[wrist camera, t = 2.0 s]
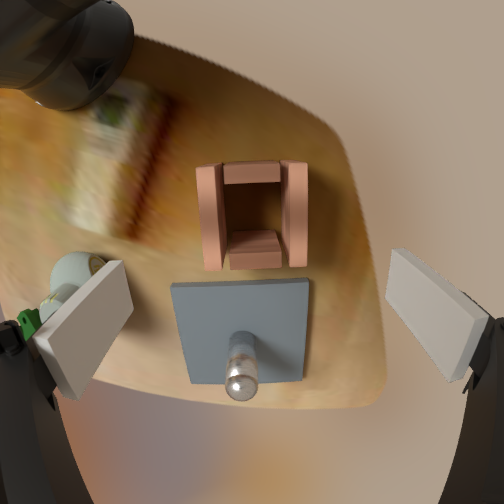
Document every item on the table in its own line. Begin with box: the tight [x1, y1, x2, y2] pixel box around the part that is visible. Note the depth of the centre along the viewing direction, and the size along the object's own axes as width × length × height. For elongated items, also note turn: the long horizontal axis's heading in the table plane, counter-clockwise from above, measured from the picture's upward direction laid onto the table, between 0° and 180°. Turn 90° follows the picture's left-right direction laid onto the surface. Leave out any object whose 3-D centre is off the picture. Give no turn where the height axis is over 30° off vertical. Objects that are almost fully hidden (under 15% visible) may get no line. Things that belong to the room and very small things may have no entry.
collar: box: [196, 160, 308, 271], centre depth 27 cm, size 9×9×7 cm
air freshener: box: [39, 252, 106, 324], centre depth 29 cm, size 11×8×10 cm
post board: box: [170, 278, 309, 384], centre depth 36 cm, size 16×16×1 cm
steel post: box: [225, 331, 258, 401], centre depth 31 cm, size 4×4×10 cm
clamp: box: [17, 308, 42, 341], centre depth 34 cm, size 12×6×9 cm, turn 123°
